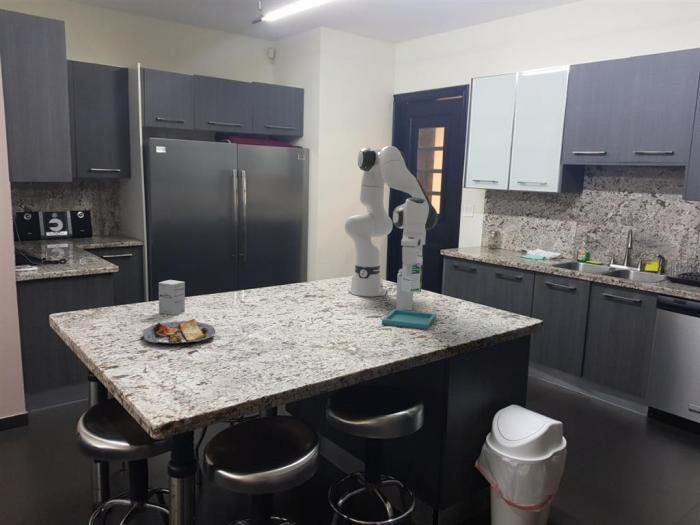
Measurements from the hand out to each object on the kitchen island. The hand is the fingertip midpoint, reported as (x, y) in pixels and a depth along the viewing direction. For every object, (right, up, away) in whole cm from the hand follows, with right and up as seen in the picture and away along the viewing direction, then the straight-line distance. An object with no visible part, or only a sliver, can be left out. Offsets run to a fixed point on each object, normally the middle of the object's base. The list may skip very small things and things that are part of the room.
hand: (412, 274), depth 212 cm
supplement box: (-96, -16, +4) cm, 98 cm away
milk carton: (-1, -16, +24) cm, 29 cm away
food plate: (-84, -21, -27) cm, 90 cm away
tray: (-1, -19, +3) cm, 19 cm away
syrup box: (0, -7, +1) cm, 7 cm away
